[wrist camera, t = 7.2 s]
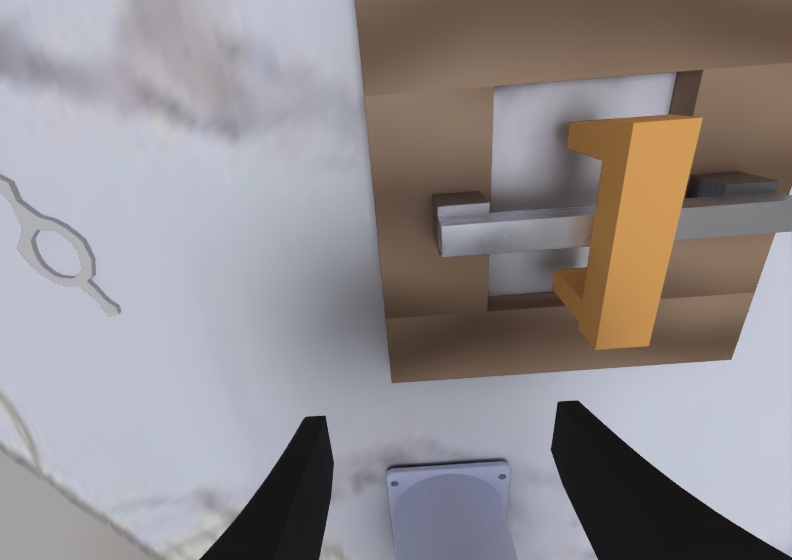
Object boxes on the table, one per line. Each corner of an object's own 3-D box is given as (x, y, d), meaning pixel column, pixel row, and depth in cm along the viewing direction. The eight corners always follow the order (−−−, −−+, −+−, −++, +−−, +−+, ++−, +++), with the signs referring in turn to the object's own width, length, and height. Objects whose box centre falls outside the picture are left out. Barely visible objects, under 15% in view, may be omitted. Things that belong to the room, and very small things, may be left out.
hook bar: (725, 216, 18) (790, 241, 15) (433, 238, 18) (442, 266, 15) (738, 171, 17) (810, 187, 14) (432, 194, 17) (441, 215, 14)
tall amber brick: (593, 291, 19) (648, 346, 15) (551, 294, 19) (595, 349, 15) (622, 109, 16) (703, 117, 12) (570, 114, 16) (633, 123, 12)
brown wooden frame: (710, 343, 23) (731, 359, 21) (391, 365, 23) (391, 383, 22) (838, -61, 15) (882, -76, 14) (355, -21, 15) (352, -31, 14)
